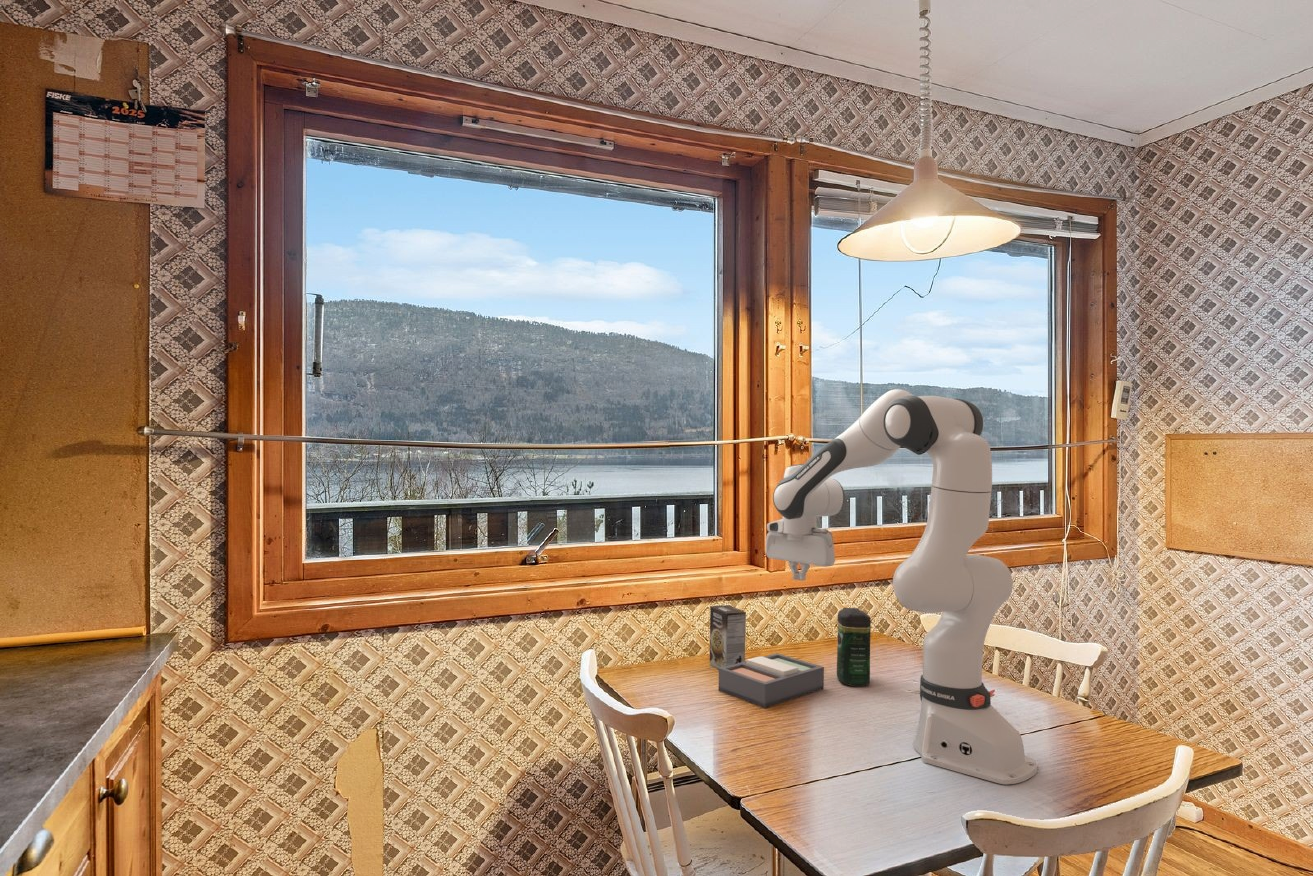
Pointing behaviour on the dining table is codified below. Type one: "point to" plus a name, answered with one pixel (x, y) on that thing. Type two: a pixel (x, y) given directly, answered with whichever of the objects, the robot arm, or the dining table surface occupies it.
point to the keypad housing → (771, 683)
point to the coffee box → (727, 636)
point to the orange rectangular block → (753, 674)
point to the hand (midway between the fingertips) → (799, 579)
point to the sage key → (792, 664)
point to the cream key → (772, 666)
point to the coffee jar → (853, 647)
